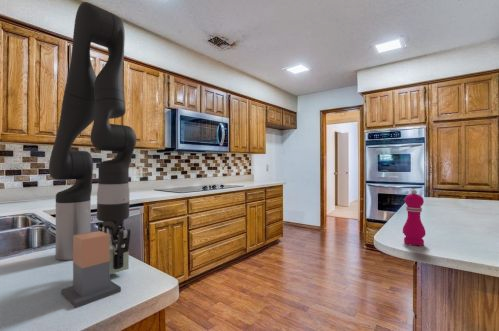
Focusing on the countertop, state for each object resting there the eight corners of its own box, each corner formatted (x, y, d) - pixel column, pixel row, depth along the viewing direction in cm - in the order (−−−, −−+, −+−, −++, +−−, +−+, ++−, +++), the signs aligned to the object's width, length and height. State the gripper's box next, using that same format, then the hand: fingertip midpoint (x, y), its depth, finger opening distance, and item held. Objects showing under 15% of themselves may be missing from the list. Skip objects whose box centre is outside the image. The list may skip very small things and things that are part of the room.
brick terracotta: (73, 262, 59) (73, 235, 59) (99, 255, 64) (99, 230, 64) (82, 268, 56) (82, 239, 56) (109, 261, 60) (109, 234, 60)
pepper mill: (425, 247, 93) (426, 190, 93) (402, 244, 97) (402, 189, 97) (425, 242, 100) (425, 189, 100) (402, 239, 103) (403, 188, 103)
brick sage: (97, 269, 69) (97, 246, 69) (118, 263, 74) (119, 241, 73) (106, 275, 66) (106, 251, 66) (128, 268, 70) (128, 246, 70)
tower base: (61, 293, 59) (61, 262, 59) (104, 280, 66) (104, 252, 66) (75, 307, 54) (75, 273, 54) (120, 291, 60) (120, 260, 60)
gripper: (141, 202, 68) (140, 268, 68) (115, 196, 77) (115, 255, 77) (110, 205, 62) (110, 277, 62) (87, 199, 71) (86, 262, 71)
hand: (112, 264), depth 70 cm, fingers closed on brick sage, 5 cm apart
